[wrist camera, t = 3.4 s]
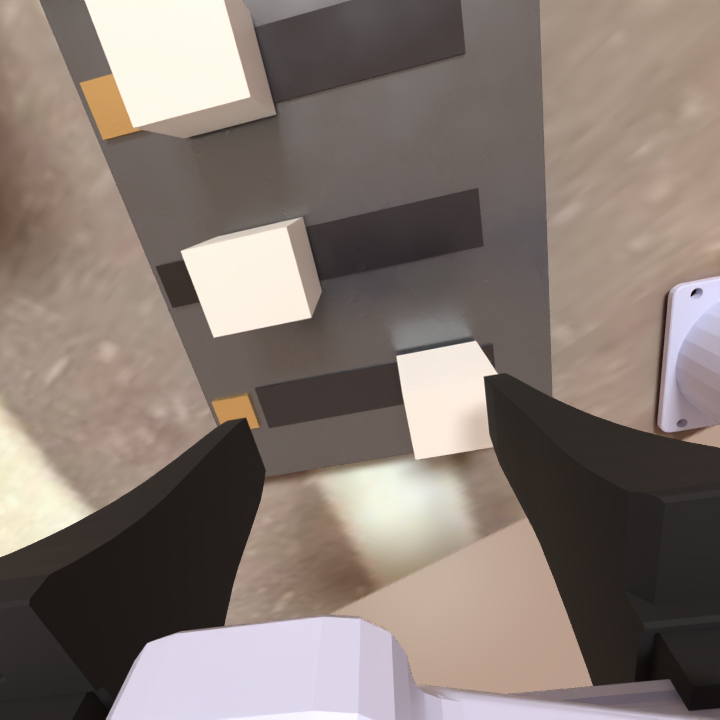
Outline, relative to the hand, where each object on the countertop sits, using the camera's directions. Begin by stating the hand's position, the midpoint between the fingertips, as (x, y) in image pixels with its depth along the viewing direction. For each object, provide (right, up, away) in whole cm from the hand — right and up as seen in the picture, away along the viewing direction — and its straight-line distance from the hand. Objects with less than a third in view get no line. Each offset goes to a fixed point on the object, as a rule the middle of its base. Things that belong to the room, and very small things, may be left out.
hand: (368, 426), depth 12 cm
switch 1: (-5, +12, +2) cm, 13 cm away
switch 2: (-4, +6, +4) cm, 8 cm away
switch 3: (+3, +1, +6) cm, 7 cm away
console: (-1, +7, +6) cm, 10 cm away
